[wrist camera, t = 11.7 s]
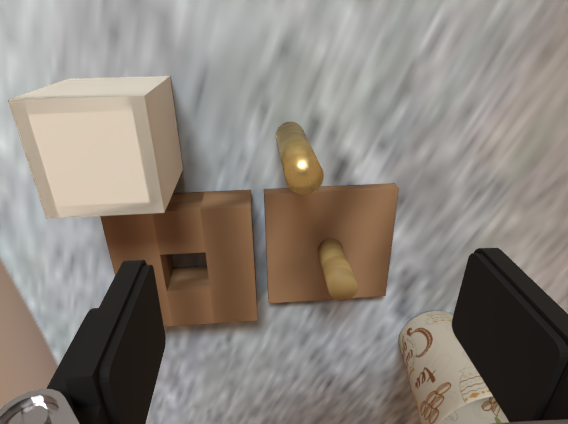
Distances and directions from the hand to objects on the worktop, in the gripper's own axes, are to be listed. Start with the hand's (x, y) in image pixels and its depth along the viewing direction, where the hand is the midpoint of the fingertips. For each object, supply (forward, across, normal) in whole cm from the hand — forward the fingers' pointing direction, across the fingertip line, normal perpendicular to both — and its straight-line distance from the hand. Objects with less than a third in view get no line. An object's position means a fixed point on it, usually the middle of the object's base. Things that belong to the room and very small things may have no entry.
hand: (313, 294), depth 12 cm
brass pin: (+18, -1, 0) cm, 18 cm away
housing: (+18, +10, 0) cm, 21 cm away
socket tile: (+18, +7, +10) cm, 21 cm away
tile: (+18, -4, +9) cm, 21 cm away
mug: (+18, -16, +21) cm, 32 cm away
